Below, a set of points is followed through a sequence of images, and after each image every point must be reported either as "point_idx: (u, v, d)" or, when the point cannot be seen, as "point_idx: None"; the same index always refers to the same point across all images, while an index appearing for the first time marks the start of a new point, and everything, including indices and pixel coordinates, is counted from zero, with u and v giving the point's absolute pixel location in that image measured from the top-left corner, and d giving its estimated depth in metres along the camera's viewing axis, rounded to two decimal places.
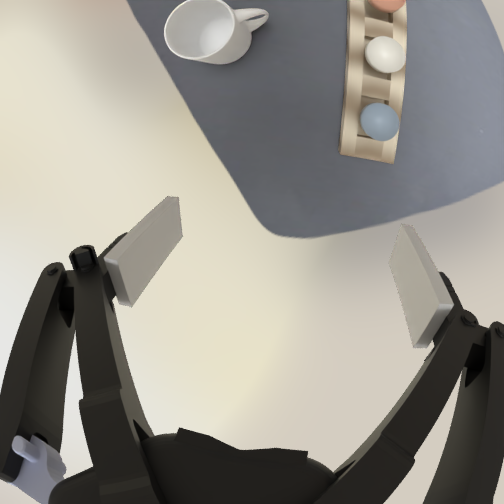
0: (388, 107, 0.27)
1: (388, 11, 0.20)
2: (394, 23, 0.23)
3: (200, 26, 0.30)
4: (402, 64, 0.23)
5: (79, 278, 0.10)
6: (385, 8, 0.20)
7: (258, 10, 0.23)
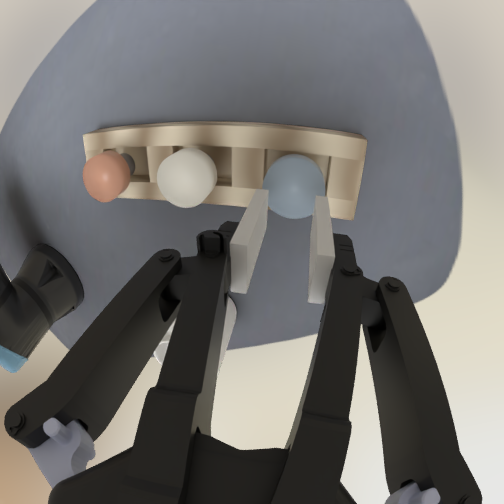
0: (266, 179, 0.21)
1: (125, 170, 0.24)
2: (145, 144, 0.25)
3: None
4: (190, 158, 0.21)
5: (200, 262, 0.11)
6: (120, 180, 0.23)
7: None
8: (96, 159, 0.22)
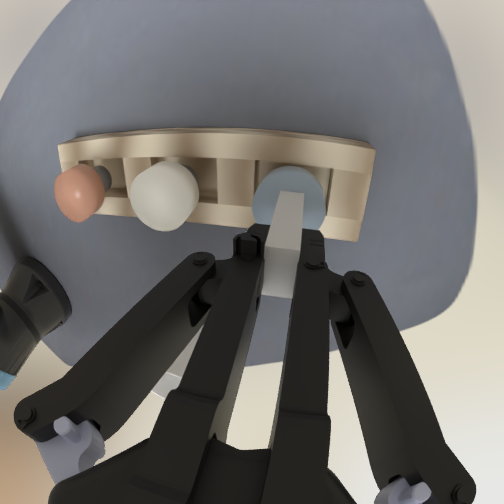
0: (257, 196, 0.18)
1: (97, 187, 0.20)
2: (121, 155, 0.22)
3: None
4: (165, 174, 0.17)
5: (235, 264, 0.11)
6: (92, 198, 0.20)
7: None
8: (66, 175, 0.19)
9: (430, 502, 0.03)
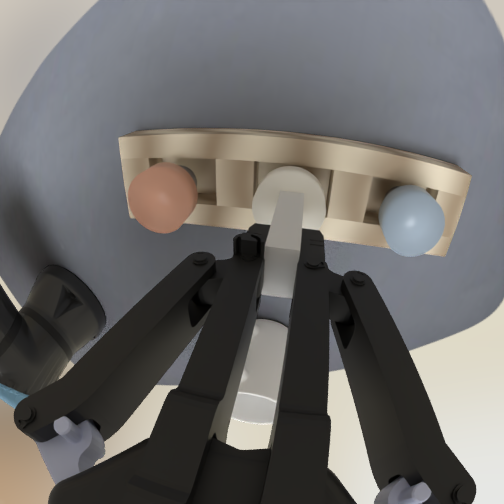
0: (392, 213, 0.17)
1: (193, 192, 0.19)
2: (214, 156, 0.21)
3: None
4: (305, 182, 0.17)
5: (235, 264, 0.11)
6: (188, 206, 0.18)
7: None
8: (151, 175, 0.17)
9: (430, 502, 0.03)
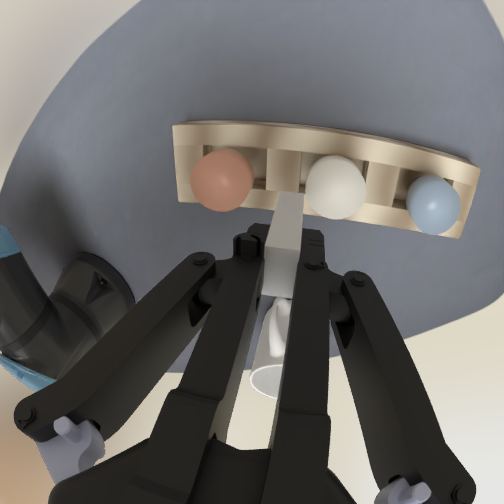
0: (418, 197, 0.19)
1: (252, 175, 0.21)
2: (266, 145, 0.23)
3: None
4: (351, 168, 0.19)
5: (235, 264, 0.11)
6: (249, 187, 0.21)
7: (272, 330, 0.29)
8: (216, 158, 0.20)
9: (430, 502, 0.03)
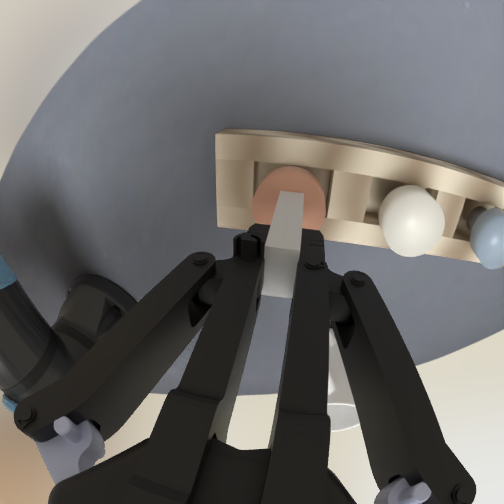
0: (488, 233, 0.15)
1: None
2: (333, 166, 0.19)
3: None
4: (434, 203, 0.15)
5: (235, 264, 0.11)
6: None
7: None
8: (290, 179, 0.17)
9: (430, 502, 0.03)
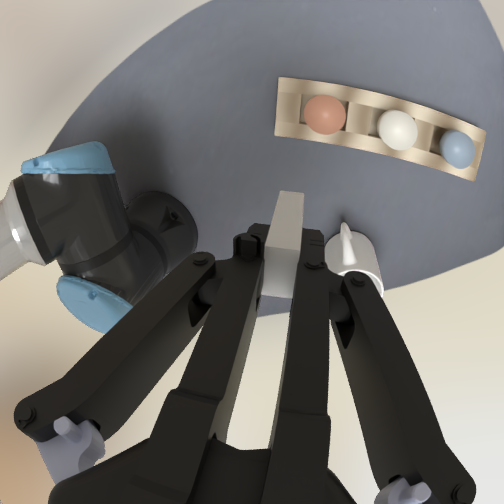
0: (449, 141, 0.25)
1: None
2: (348, 99, 0.29)
3: None
4: (408, 116, 0.25)
5: (235, 264, 0.11)
6: (344, 119, 0.28)
7: (346, 241, 0.35)
8: (326, 97, 0.27)
9: (430, 502, 0.03)
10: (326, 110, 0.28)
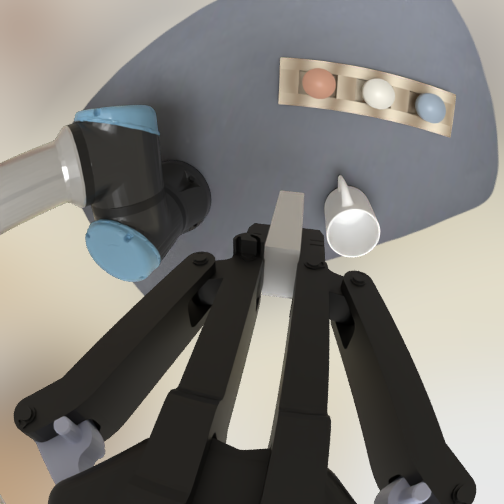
0: (422, 100, 0.31)
1: None
2: (337, 73, 0.35)
3: (332, 223, 0.51)
4: (386, 82, 0.31)
5: (235, 264, 0.11)
6: (335, 86, 0.33)
7: (343, 187, 0.40)
8: (319, 70, 0.32)
9: (430, 502, 0.03)
10: (320, 80, 0.33)
